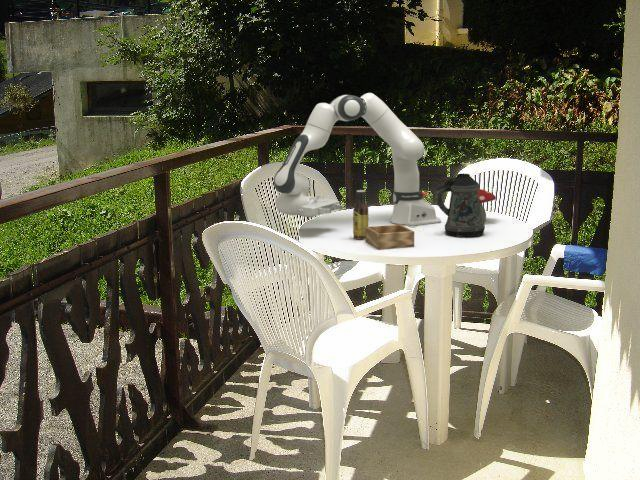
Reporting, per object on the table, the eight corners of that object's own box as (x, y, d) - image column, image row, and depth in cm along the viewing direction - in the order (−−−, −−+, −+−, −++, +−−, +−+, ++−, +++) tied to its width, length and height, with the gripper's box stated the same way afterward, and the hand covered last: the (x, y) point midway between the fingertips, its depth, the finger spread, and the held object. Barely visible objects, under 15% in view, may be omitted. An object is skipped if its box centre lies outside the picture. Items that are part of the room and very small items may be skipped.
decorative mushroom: (467, 226, 340) (468, 192, 336) (453, 219, 355) (454, 186, 351) (501, 223, 343) (502, 190, 340) (486, 217, 358) (487, 185, 355)
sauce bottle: (352, 237, 322) (351, 189, 317) (367, 236, 322) (367, 189, 318) (354, 240, 315) (354, 192, 311) (369, 239, 316) (369, 191, 312)
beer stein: (492, 235, 321) (494, 175, 315) (454, 240, 312) (455, 178, 307) (468, 228, 335) (469, 170, 330) (430, 233, 327) (431, 174, 321)
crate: (400, 238, 317) (400, 224, 316) (414, 246, 303) (414, 231, 301) (365, 241, 313) (365, 226, 312) (377, 249, 299) (377, 234, 298)
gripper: (294, 203, 321) (322, 205, 314) (322, 195, 338) (349, 198, 330) (294, 218, 323) (322, 221, 315) (322, 210, 339) (349, 213, 332)
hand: (336, 209), depth 323 cm, fingers open, 8 cm apart
